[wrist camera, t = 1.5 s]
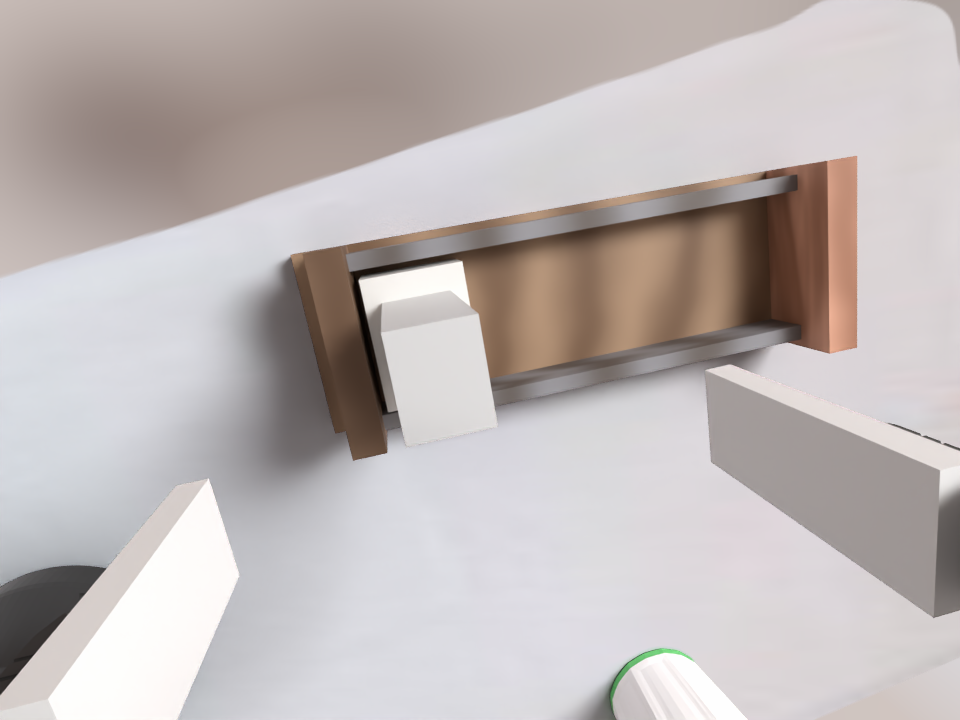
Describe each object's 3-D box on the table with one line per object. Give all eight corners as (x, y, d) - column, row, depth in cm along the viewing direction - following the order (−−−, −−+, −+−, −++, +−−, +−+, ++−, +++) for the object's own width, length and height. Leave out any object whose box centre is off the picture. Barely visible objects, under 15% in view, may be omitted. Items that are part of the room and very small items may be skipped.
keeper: (387, 394, 37) (389, 485, 23) (361, 275, 35) (347, 300, 21) (474, 375, 38) (525, 453, 24) (453, 258, 36) (496, 272, 22)
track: (337, 426, 38) (327, 466, 32) (294, 254, 36) (273, 258, 29) (799, 326, 43) (877, 342, 36) (795, 166, 40) (879, 151, 33)
